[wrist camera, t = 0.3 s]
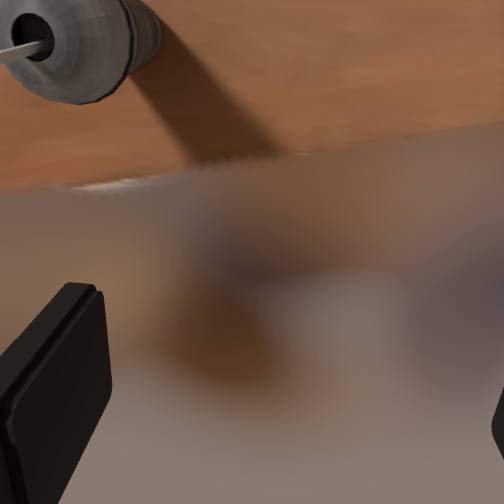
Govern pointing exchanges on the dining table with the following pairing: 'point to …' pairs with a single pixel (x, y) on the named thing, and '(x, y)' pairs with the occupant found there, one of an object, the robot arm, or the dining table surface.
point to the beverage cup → (76, 45)
